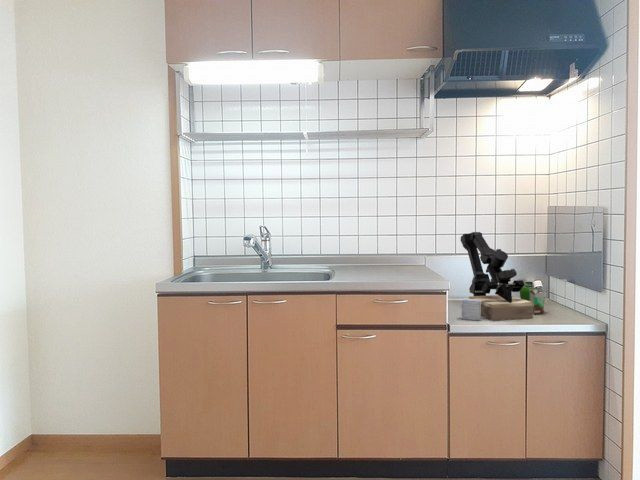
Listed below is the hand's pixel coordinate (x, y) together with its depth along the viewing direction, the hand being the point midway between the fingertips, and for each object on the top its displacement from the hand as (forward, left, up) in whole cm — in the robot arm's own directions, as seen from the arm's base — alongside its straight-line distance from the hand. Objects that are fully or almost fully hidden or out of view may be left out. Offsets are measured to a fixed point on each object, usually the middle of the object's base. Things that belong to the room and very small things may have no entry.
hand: (510, 302), depth 226 cm
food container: (-8, +20, -8) cm, 23 cm away
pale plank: (-5, 0, -2) cm, 5 cm away
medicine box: (-4, -17, -8) cm, 19 cm away
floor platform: (-8, 0, -7) cm, 11 cm away
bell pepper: (-27, +28, -8) cm, 39 cm away
